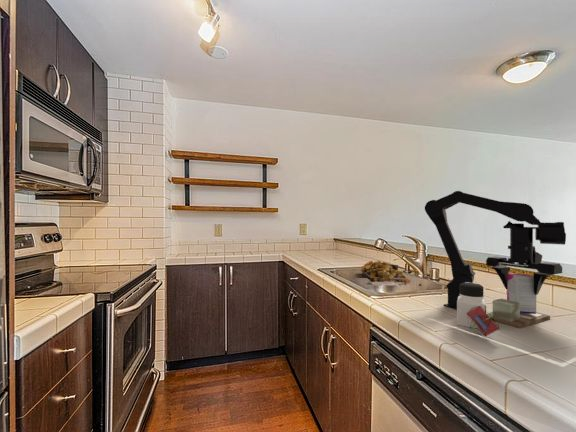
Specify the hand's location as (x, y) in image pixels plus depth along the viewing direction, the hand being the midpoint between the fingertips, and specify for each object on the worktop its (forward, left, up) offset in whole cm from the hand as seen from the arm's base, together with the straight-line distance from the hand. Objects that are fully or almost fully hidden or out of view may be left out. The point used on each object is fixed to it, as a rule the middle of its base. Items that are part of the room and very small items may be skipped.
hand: (521, 291), depth 95 cm
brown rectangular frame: (-3, 0, -8) cm, 8 cm away
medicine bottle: (-21, +3, -8) cm, 23 cm away
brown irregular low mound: (+6, +65, -9) cm, 66 cm away
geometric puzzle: (-27, -4, -8) cm, 28 cm away
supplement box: (0, 0, -6) cm, 6 cm away
